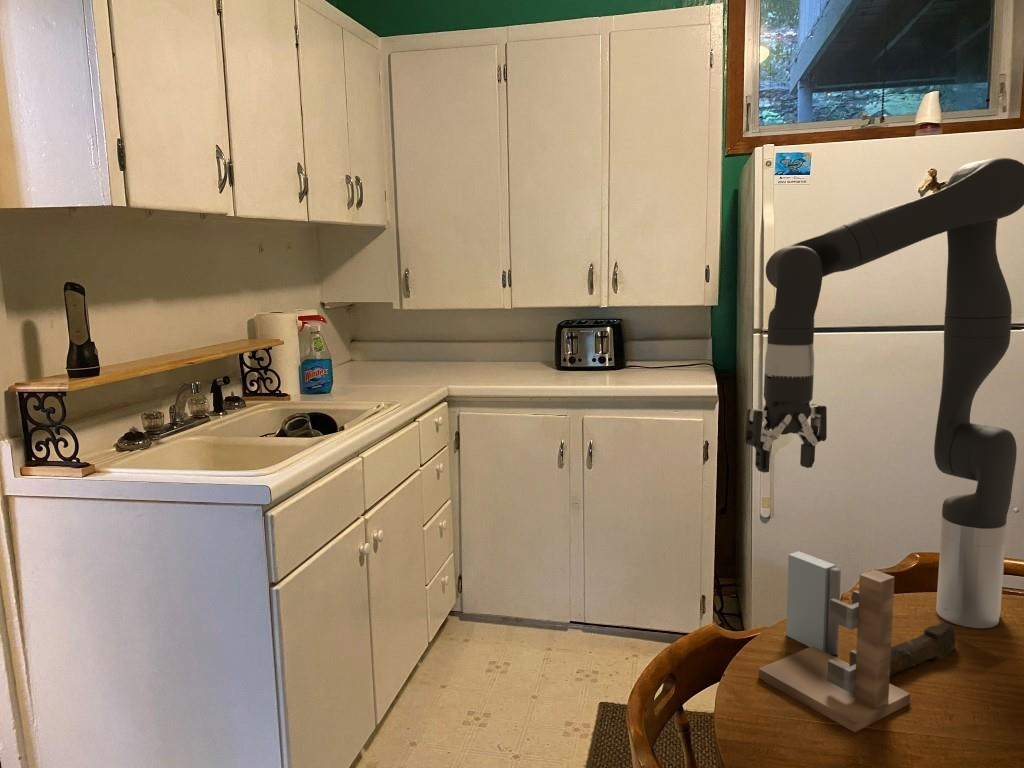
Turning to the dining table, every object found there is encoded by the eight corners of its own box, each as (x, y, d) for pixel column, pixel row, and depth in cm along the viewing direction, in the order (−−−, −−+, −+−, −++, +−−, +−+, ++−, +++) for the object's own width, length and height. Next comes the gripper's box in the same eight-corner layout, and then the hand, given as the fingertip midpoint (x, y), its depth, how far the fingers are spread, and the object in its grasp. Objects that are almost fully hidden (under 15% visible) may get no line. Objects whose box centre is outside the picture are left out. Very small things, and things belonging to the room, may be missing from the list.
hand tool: (882, 687, 111) (884, 657, 110) (859, 674, 115) (861, 645, 114) (970, 657, 119) (972, 628, 118) (946, 645, 122) (948, 618, 121)
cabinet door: (796, 631, 128) (798, 551, 125) (841, 653, 120) (844, 568, 118) (786, 635, 126) (788, 554, 124) (831, 657, 119) (834, 571, 117)
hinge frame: (812, 655, 120) (816, 535, 117) (909, 703, 106) (917, 569, 103) (758, 677, 114) (761, 552, 111) (854, 732, 100) (860, 591, 97)
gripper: (809, 367, 130) (804, 460, 132) (737, 371, 126) (734, 467, 128) (841, 372, 123) (836, 470, 125) (766, 376, 119) (762, 478, 121)
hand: (784, 469), depth 127 cm, fingers open, 8 cm apart
